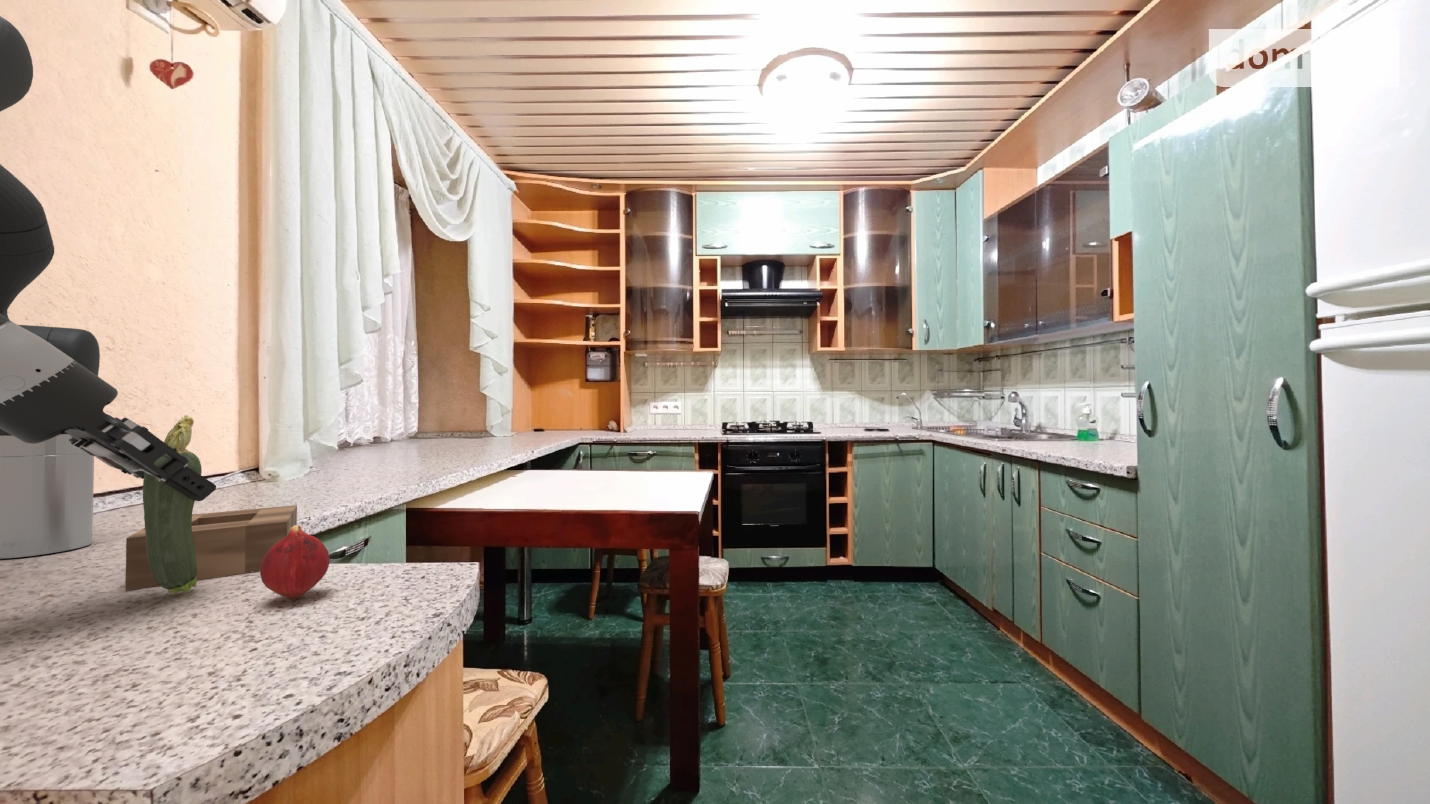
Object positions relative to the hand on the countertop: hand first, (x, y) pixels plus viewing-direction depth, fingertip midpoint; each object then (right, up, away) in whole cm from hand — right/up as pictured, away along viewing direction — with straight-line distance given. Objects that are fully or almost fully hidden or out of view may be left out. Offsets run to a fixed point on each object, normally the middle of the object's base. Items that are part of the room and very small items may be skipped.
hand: (197, 492), depth 56 cm
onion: (+13, -11, -3) cm, 18 cm away
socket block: (-7, -11, +10) cm, 17 cm away
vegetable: (-1, -11, -2) cm, 11 cm away
